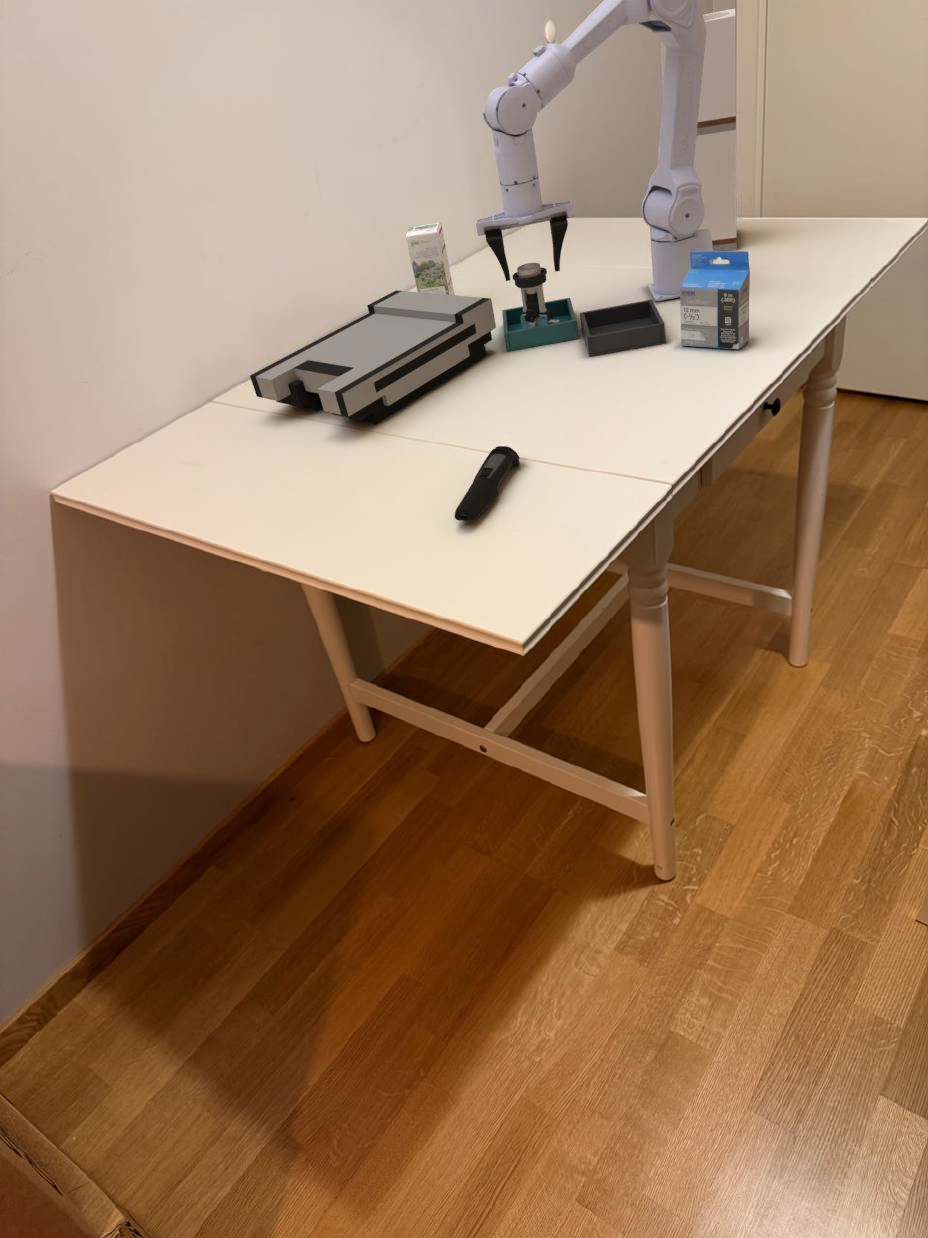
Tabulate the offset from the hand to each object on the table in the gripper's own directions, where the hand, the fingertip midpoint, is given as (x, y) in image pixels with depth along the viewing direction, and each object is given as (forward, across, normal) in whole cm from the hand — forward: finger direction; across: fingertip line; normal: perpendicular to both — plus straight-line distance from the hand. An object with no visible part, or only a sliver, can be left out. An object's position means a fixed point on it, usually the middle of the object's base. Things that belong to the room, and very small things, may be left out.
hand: (532, 274), depth 140 cm
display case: (+10, +32, +30) cm, 45 cm away
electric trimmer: (+9, -9, -50) cm, 52 cm away
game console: (+9, -25, -10) cm, 29 cm away
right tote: (+9, +12, -8) cm, 17 cm away
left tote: (+9, 0, 0) cm, 9 cm away
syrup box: (+9, -17, +20) cm, 28 cm away
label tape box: (+9, +24, -17) cm, 31 cm away
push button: (+9, 0, 0) cm, 9 cm away
